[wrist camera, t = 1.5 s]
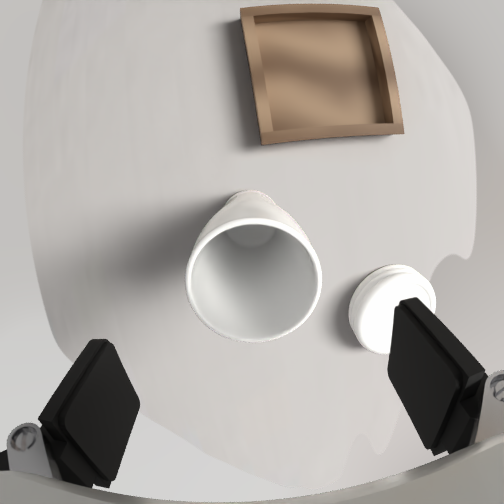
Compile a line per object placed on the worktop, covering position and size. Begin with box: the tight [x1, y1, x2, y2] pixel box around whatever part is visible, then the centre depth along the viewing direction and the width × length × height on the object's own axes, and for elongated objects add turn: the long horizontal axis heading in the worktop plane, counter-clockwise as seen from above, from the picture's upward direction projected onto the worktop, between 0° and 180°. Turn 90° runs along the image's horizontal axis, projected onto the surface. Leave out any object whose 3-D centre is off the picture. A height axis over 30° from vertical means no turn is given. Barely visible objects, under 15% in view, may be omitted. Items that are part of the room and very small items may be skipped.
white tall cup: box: [185, 190, 322, 343], centre depth 21 cm, size 7×7×15 cm
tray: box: [240, 4, 404, 145], centre depth 23 cm, size 13×13×2 cm
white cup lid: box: [348, 264, 436, 354], centre depth 31 cm, size 10×10×4 cm
